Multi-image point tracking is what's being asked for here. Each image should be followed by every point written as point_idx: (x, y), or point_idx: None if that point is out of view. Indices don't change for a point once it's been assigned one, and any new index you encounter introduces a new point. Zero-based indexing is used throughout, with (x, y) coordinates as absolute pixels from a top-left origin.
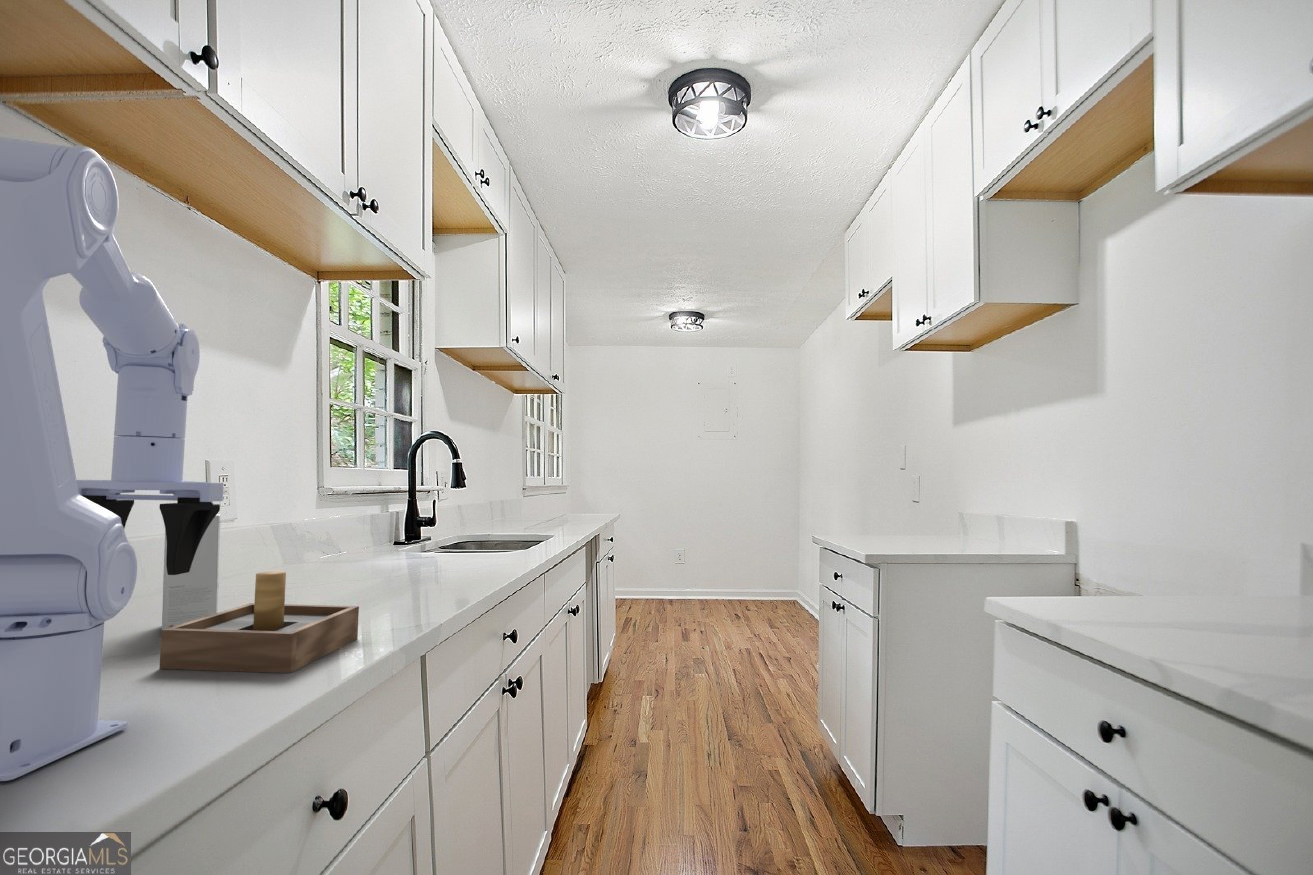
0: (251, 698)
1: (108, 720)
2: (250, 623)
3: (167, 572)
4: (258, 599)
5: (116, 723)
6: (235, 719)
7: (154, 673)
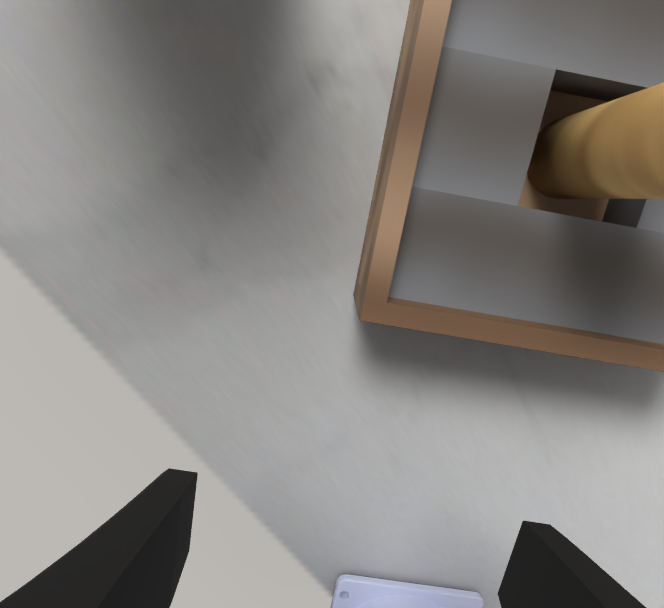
0: (614, 483)
1: (452, 595)
2: (528, 111)
3: (501, 605)
4: (641, 192)
5: (471, 606)
6: (617, 566)
7: (361, 325)
